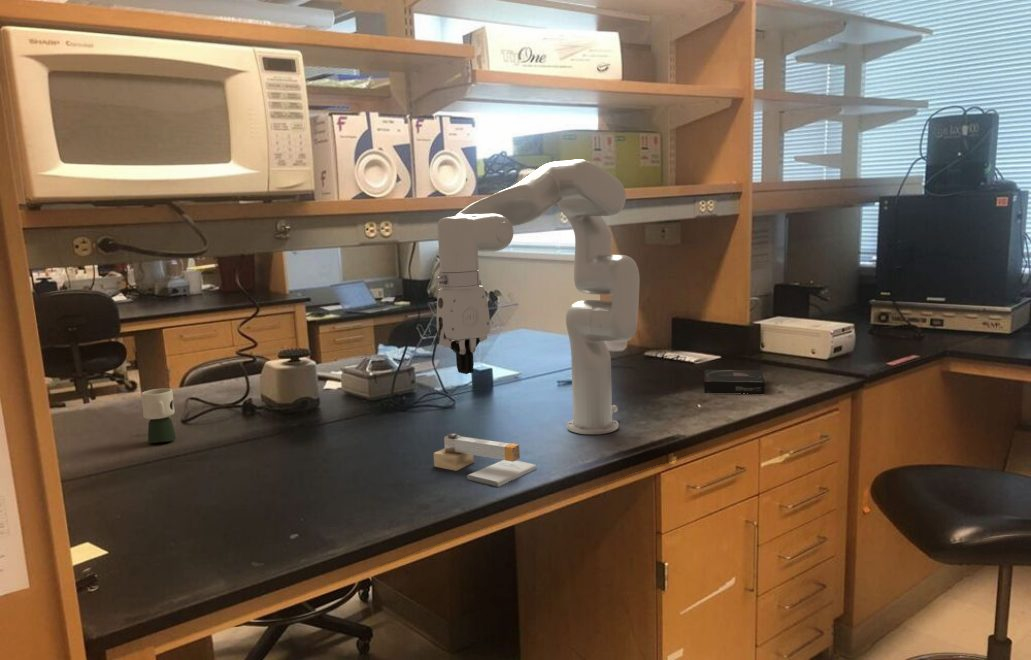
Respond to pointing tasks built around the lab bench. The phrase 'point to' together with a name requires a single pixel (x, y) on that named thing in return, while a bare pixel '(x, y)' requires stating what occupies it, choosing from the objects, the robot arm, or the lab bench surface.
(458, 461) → the block
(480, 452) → the latch arm
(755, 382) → the portable cd player
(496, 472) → the external hard drive
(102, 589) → the lab bench surface
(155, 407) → the character mug
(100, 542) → the lab bench surface
